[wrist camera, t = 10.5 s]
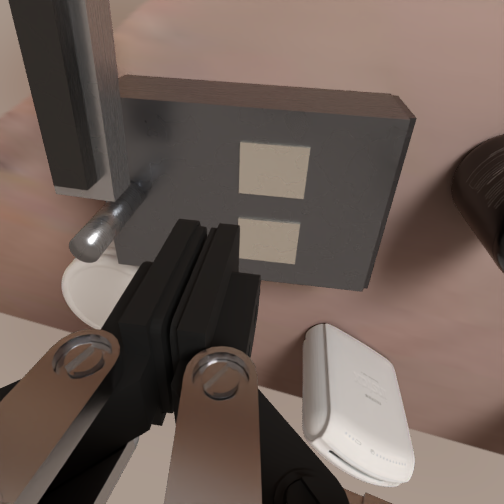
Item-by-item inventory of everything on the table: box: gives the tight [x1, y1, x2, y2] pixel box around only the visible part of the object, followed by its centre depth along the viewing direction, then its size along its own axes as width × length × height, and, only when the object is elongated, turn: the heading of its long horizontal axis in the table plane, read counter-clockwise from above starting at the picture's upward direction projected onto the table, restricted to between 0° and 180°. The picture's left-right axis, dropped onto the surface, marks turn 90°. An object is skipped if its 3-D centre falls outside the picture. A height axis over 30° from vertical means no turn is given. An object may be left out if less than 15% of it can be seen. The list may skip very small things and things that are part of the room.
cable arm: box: [9, 0, 130, 202], centre depth 15 cm, size 14×3×3 cm, turn 175°
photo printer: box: [302, 324, 415, 487], centre depth 34 cm, size 10×4×12 cm, turn 55°
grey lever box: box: [69, 75, 416, 291], centre depth 24 cm, size 18×12×12 cm, turn 88°
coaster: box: [61, 240, 140, 330], centre depth 36 cm, size 10×10×4 cm
